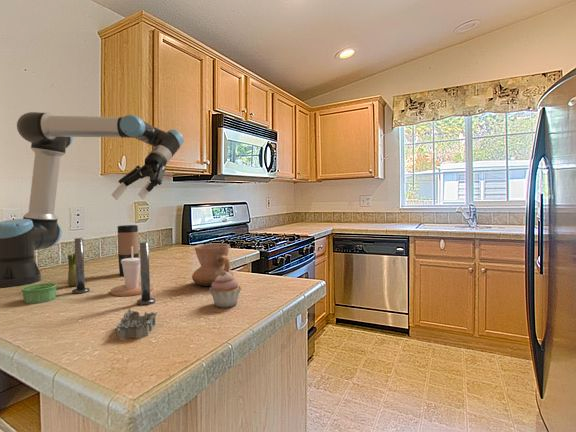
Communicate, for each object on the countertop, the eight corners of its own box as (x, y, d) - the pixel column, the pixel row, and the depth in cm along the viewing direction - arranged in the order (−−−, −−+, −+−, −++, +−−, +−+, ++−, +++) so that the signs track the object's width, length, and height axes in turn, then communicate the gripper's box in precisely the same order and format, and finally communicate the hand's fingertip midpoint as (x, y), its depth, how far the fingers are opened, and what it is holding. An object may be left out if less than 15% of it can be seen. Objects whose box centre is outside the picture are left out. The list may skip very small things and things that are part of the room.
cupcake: (206, 302, 103) (205, 269, 102) (237, 298, 106) (236, 266, 106) (212, 311, 94) (211, 275, 94) (245, 307, 98) (245, 272, 97)
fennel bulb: (70, 288, 121) (68, 254, 120) (64, 286, 124) (63, 253, 123) (87, 284, 125) (86, 252, 125) (82, 283, 128) (80, 250, 128)
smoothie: (146, 286, 119) (145, 245, 118) (132, 290, 113) (131, 248, 112) (131, 284, 121) (130, 244, 120) (117, 289, 115) (115, 247, 114)
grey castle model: (129, 324, 86) (128, 308, 86) (160, 322, 87) (159, 306, 87) (111, 341, 76) (110, 323, 76) (146, 339, 76) (145, 321, 76)
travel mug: (142, 272, 146) (141, 225, 145) (133, 276, 138) (131, 226, 137) (125, 272, 147) (124, 225, 146) (115, 276, 139) (113, 226, 138)
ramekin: (54, 294, 113) (53, 281, 113) (60, 300, 107) (60, 286, 107) (19, 300, 107) (19, 286, 107) (24, 306, 101) (23, 291, 101)
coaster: (102, 293, 114) (101, 290, 113) (134, 284, 125) (134, 281, 125) (130, 298, 108) (129, 294, 108) (161, 288, 120) (161, 285, 120)
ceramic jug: (183, 283, 126) (182, 244, 125) (217, 277, 136) (217, 241, 135) (208, 293, 113) (207, 250, 112) (245, 285, 123) (244, 245, 122)
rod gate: (68, 292, 115) (66, 239, 114) (83, 289, 119) (81, 237, 118) (145, 306, 100) (143, 244, 99) (158, 301, 104) (156, 242, 103)
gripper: (187, 164, 135) (158, 204, 122) (141, 167, 145) (110, 204, 133) (177, 149, 130) (146, 188, 117) (130, 153, 140) (97, 190, 128)
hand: (127, 197), depth 125 cm, fingers open, 13 cm apart
